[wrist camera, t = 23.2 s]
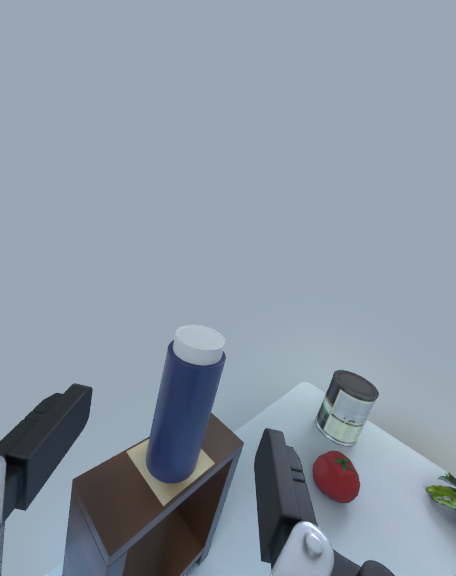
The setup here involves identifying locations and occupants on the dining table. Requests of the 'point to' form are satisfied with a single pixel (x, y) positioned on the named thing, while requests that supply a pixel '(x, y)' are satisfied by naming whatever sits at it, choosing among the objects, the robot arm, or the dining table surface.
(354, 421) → the coffee can
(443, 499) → the purple flowering plant
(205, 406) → the water bottle
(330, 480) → the tomato
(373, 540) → the dining table surface
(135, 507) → the shoe shelf
